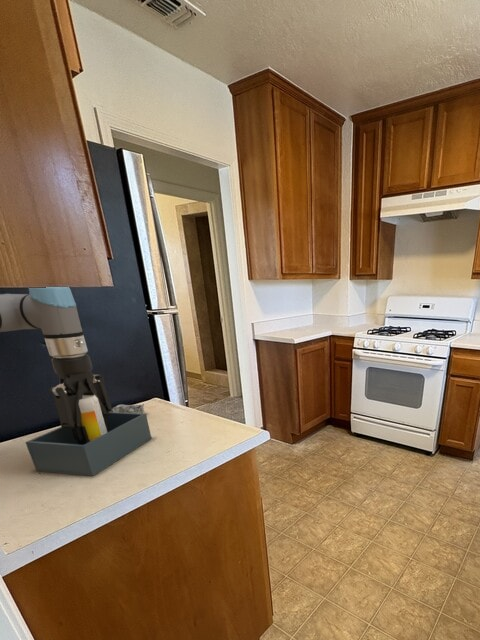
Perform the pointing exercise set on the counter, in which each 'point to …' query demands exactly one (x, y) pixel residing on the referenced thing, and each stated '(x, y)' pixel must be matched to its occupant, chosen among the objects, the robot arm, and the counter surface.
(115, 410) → the egg carton
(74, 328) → the robot arm
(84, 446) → the tub
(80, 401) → the beer can
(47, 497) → the counter surface
